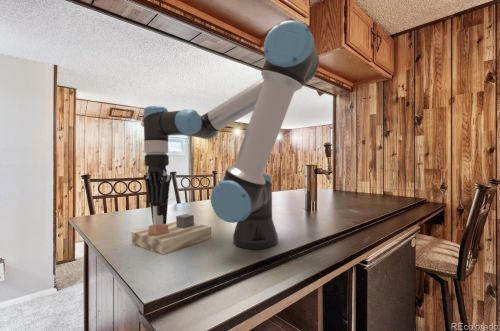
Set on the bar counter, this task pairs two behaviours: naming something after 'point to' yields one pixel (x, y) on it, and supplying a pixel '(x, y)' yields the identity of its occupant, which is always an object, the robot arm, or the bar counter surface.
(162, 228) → the salmon block
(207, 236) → the panel
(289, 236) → the bar counter surface
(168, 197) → the drinking cup
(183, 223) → the gray block
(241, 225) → the robot arm
